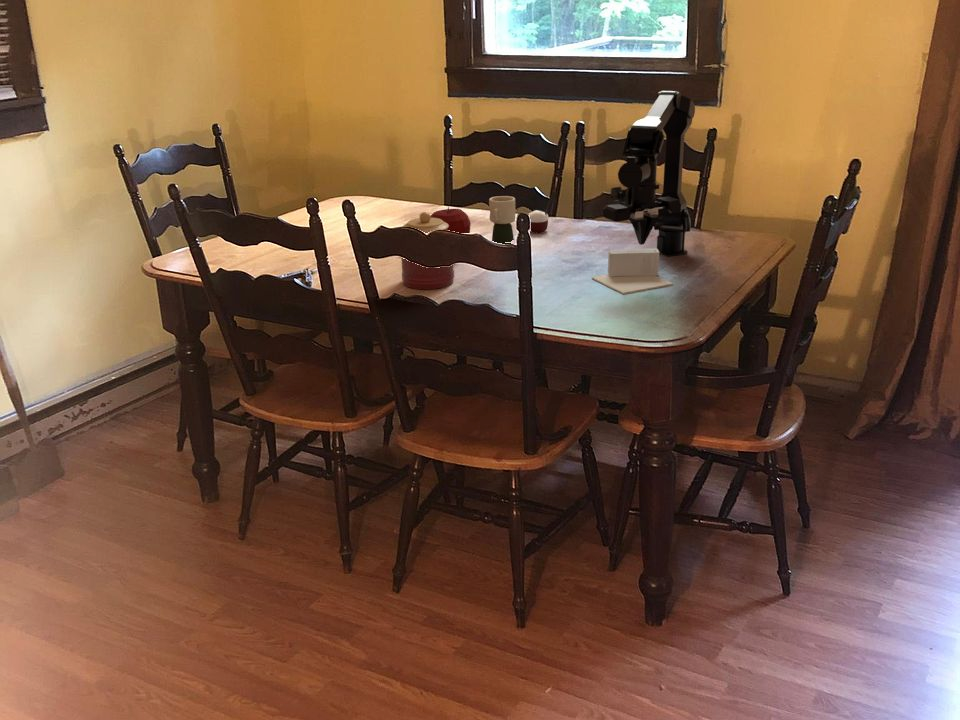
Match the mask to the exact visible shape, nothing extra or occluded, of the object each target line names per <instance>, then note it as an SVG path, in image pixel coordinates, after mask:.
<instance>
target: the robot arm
mask: <svg viewBox="0 0 960 720" xmlns="http://www.w3.org/2000/svg"><path fill="white" fill-rule="evenodd" d="M695 113H696V105H695V103H694V102H693V100H692V99H691V98H689V97H686V96H685V95H682V94H681V92H679V91H677V90H674V91H673V90H661V91H659V92H658V93H657V96H656V99H655V101H654V102H653V104H652V106H651V108H650V109H649V111H648V112H647V114H646V115H645V117H643V118H641V119H638V120H636V121H635V122H634V123H632V124H631V126H630V128H629V129H628V131H627V134H626V138H625V143H624V147H623V151H622V157H626V162H625V163H624V164H622V165H621V166H620V167H619V170H618V171H617V178H618V180H619V183H620V184H621V185H622V186H623V187H625V189H622V187H621V186H615V187H611V189H610V197H611V198H610V199H611V201H612V202H616V201H617V203H614V204H608V205H605V207H604V208H603V210H602V217H603V218H605V219H607V220H610V221H613V222H614V223H615V222H617V223H618V222H619V223H620V222H625V221H628V220H629V222H630V223H631V225H632V228H633V231H634V233H635V235H636V239H637V242H638V244H639V245H645V243H646V241H647V239H648V238H649V236H650V234H651V232H652V230H654V231H658V235H657V236H656V237H657V239H656V248H657V249H658V251H659V254H662V255H664V256H666V257H671V256H678V255H683V254H688V251H689V250H686V249H685V239H686V237H685V236H686V233H687V232H691V230H692V229H691V226H692V225H691V222H692V220H691V217H690V214H689V210H688V209H687V203H688V202H687V200H686V198H685V196H684V194H683V193H682V184H683V183H682V182H683V181H682V180H683V166H684V165H683V164H684V151H685V150H684V147H685V134H686V133H687V132H688V130H689V128H690V127H691V125H692V124H693V123H692V122H693V119H694V117H695V115H696V114H695ZM664 142H665V147H664V148H665V149H664V150H665V151H664V168H663V181H662V182H663V185H662V187H663V188H662V193H661V195H660V196H659V197H657V198H656V193H657V192H656V191H657V190H659V189H660V184H659V183H657V171H658V170H657V169H658V168H657V167H658V166H657V163H658V156H659V154H661V152H662V148H663V146H664ZM623 204H624V205H623ZM626 205H627V206H626ZM628 205H629V206H628Z"/></svg>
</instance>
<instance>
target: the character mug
mask: <svg viewBox="0 0 960 720" xmlns="http://www.w3.org/2000/svg"><path fill="white" fill-rule="evenodd" d="M488 207H489V221H490V222H491V223H493V227H492V236H491V242H492V241H494V242H497V243H502V244H510V245H512V244H511V243H505V242H511V241H512V240H514V241H515V237H514V230H513V225H512V223H514V222H516V197H514V196H509V195H501V196H492V197H490V198H489V199H488Z"/></svg>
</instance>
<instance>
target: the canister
mask: <svg viewBox="0 0 960 720" xmlns="http://www.w3.org/2000/svg"><path fill="white" fill-rule="evenodd" d="M430 216H431V214H430V213H429V212H427V211H423V212H421V213H420V215H419V218H413V219H410V220H408V221H407V222H406V223H405V224H404V225H403V226H402V227H411V228H416V229H419V230H421V231H423V232H425V233H428V232H430V231H433V230H447V229H448V227H449V225H448V224H447V223H446V222H444V221H443V220H441V219H438V218H430ZM400 258H401V257H400ZM454 278H455V270H454V264H453V265H452V266H450V267H440V268H426V267H422V266H420V265H417V264H415V263H412V262H409V261H407V260H406V259H403V258H401V279H402V281H403V282H402V283H403V285H404V286H406V287H407V288H410V289H414V290H436V289H443V288H444V287H447V286H450V285H451V284H453V283H454V280H455V279H454Z"/></svg>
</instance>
